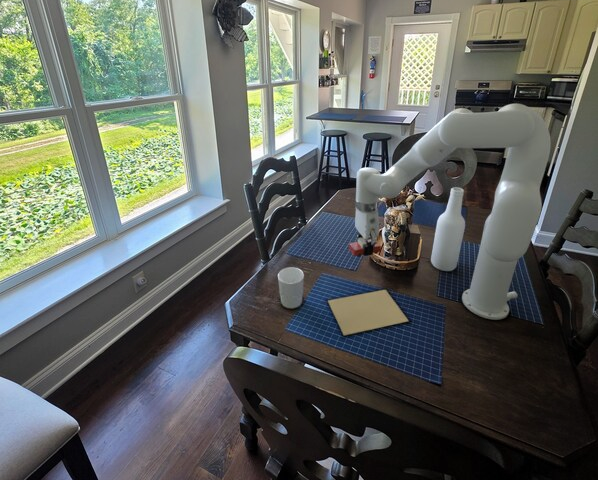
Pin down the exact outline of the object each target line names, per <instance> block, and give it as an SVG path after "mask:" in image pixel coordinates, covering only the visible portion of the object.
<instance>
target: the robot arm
mask: <svg viewBox="0 0 598 480" xmlns="http://www.w3.org/2000/svg"><path fill="white" fill-rule="evenodd" d="M551 140H552V139H551V135H550V131H549V128H548V126H547V123H546V121H545V120H544V119H543V117H541V115H540V114H539V113H538V112H536V110H534V109H533V108H531V107H529V106H527V105H525V104H522V103H510V104H506V105H504V106H502V107H501V108H499V110H498V111H487V112H473V111H472V110H470V109H468V108H465V107H461V108H455V109H453V110H452V111H450V112H449V113H448V114H447V115H445V116H444V117H443V118H442V119H440V121H439V122H438V123H436V124H435V125H434V126H433V127H432V128H431V129H430V130H429V131H427V133H425V134H424V135H423V136H422V137H421V138H419V140H418V141H416V142H415V143H414V144H413V145H412V147H411V148H410V149H409V150H408V152H407V153H406V154H404V155H403V156H402V157H400V159H398V161H397V162H396V163H394V164H393V165H392V166H391V167H390V168H388V169H387V170H386V171H385V172H384V173H381V171H380V170H379V169H377V168H374V167H362V168H360V169H359V170H358V171H356V186H355V189H356V190H355V215H354V216H355V217H354V227H355V229H356V242H358V238H362V237H364V238H365V246H364V255H363V257H368V256H372V255H374V253H373V246H374V245H375V244H377V242H378V241H377V239H378V238H379V236H380V215H379V203H380V197H381V198H384V199H389V200H390V199H395V198H396V197H398V196H399V195H400V194H401V192H402V191H403V189H404V188H405V187H406V186H407V185H408V184H410V182H411V181H412V180H414V178H416V177H418V175H420V174H421V173H422V172H424V171H425V170H426V169H428V168H433V167H435V166H437V165H439V164H440V163H441V162H442V161H443V160H445V159H446V158H447V157H448V156H450V155H451V154H452V153H453V152H454V151H456V150H457V149H505V148H507V149H508V151H507V154H506V157H505V163H504V166H503V170H502V172H501V176H500V179H499V182H498V184H497V186H496V188H495V192H494V199H493V205H492V210H491V212H490V214H489V215H488V216H487V217H486V219H485V222H484V225H483V230H482V236H481V240H480V245H479V250H478V253H477V257H476V262H475V266H474V269H473V274H472V278H471V283H470V286H469V288H468V289H466V290H464V291H463V293H462V295H461V301H462V304H463V305H464V307H466V308H467V310H469V311H470V312H471V313H473V314H474V315H477V316H478V317H481V318H484V319H488V320H494V321H497V320H503V319H505V318H507V317H508V315H509V313H510V307H509V304H508V303H507V302H508V301H510V300H514V299H517V298H518V293H517V292H516V291H509V290H510V288H511V284H512V283H511V282H512V280H513V277H514V274H515V270H516V266H517V265H518V261H519V259H521V258H522V257H524V255H525V254H526V253H527V251H528V249H529V247H530V244H531V241H532V239H533V237H534V233H535V231H536V228H537V225H538V223H539V220H540V217H541V212H542V206H543V205H542V197H541V192H540V191H541V190H540V189H541V184H542V181H543V178H544V176H545V172H546V168H547V165H548V162H549V158H550V154H551V143H552V142H551ZM369 236H370V237H369ZM369 239H371V241H370V242H368V240H369Z"/></svg>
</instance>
